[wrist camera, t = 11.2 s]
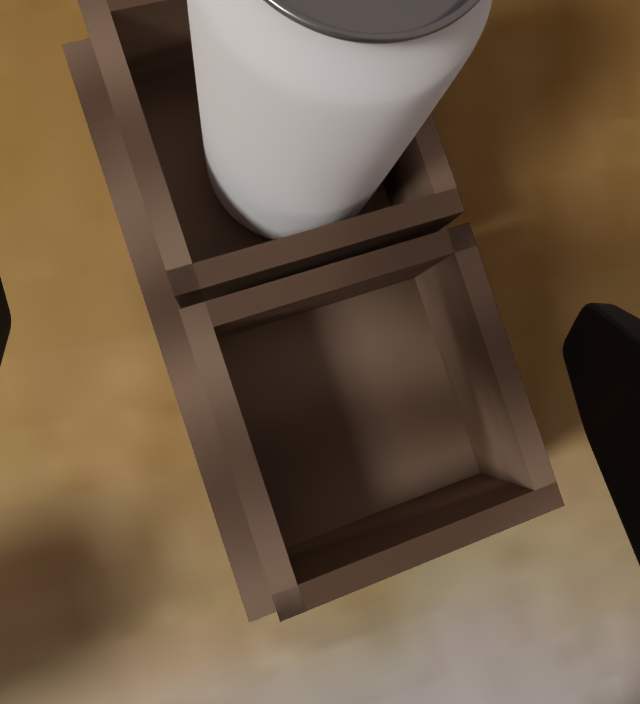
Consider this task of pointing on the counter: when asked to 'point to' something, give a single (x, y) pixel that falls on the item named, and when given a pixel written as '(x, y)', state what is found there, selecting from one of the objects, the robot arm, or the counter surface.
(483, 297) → the box
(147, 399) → the counter surface
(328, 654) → the counter surface
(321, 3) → the can
